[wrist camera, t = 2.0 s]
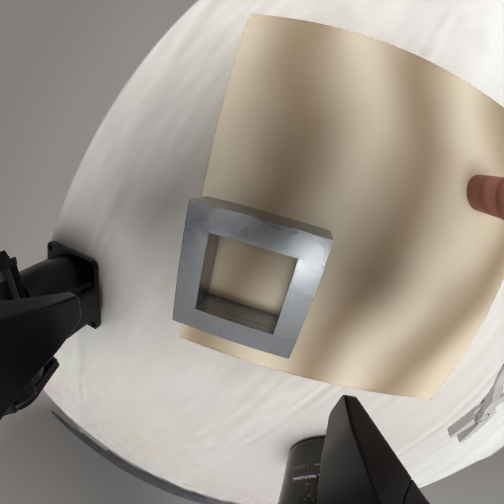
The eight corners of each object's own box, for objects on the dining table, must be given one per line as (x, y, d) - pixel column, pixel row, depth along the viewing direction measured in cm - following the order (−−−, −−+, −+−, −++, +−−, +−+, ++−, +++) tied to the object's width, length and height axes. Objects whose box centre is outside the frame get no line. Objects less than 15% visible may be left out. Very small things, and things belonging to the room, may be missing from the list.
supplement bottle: (317, 426, 19) (302, 551, 8) (372, 445, 19) (374, 551, 7) (274, 454, 21) (249, 554, 10) (326, 471, 21) (315, 561, 10)
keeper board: (188, 325, 18) (147, 377, 13) (255, 25, 12) (227, -30, 6) (426, 386, 16) (445, 441, 10) (522, 135, 9) (576, 133, 4)
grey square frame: (187, 303, 16) (172, 319, 14) (205, 195, 14) (189, 200, 12) (292, 337, 15) (288, 358, 13) (330, 230, 13) (333, 240, 11)
